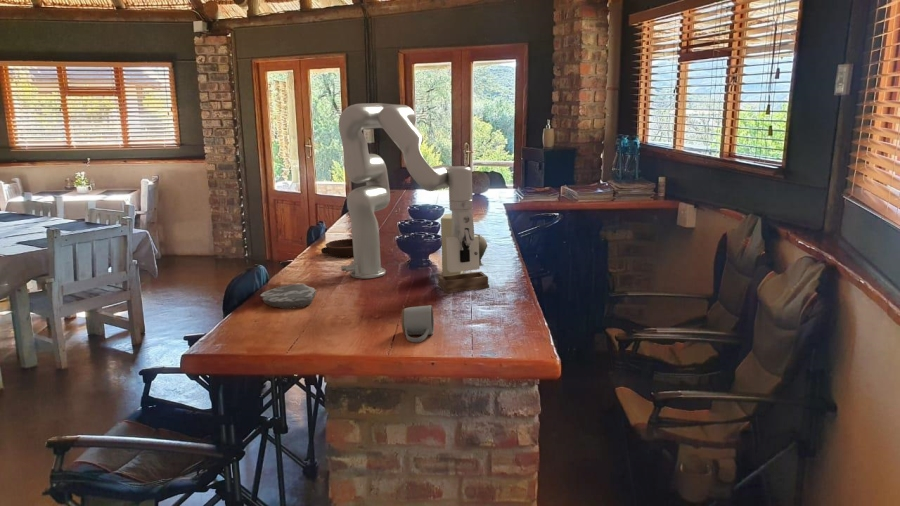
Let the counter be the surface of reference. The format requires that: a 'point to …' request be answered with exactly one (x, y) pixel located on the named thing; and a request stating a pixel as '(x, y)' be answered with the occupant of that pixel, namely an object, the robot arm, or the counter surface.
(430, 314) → the ceramic mug
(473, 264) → the rectangular block
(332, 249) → the dish
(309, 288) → the brain slice
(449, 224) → the toy refrigerator
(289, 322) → the counter surface
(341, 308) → the counter surface
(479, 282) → the brown wooden tray
